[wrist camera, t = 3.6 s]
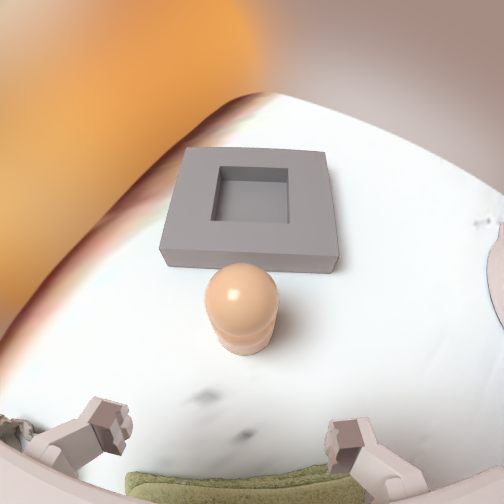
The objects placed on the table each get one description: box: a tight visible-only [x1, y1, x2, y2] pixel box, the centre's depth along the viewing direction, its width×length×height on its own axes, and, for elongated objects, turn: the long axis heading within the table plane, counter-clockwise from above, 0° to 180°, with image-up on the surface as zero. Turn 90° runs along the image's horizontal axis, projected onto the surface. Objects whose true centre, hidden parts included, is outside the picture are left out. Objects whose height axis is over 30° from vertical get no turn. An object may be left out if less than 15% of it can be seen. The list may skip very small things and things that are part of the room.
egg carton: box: [0, 414, 38, 452], centre depth 14 cm, size 11×8×4 cm
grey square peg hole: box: [159, 147, 339, 274], centre depth 27 cm, size 14×12×3 cm
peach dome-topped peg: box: [204, 263, 279, 356], centre depth 19 cm, size 4×4×8 cm
